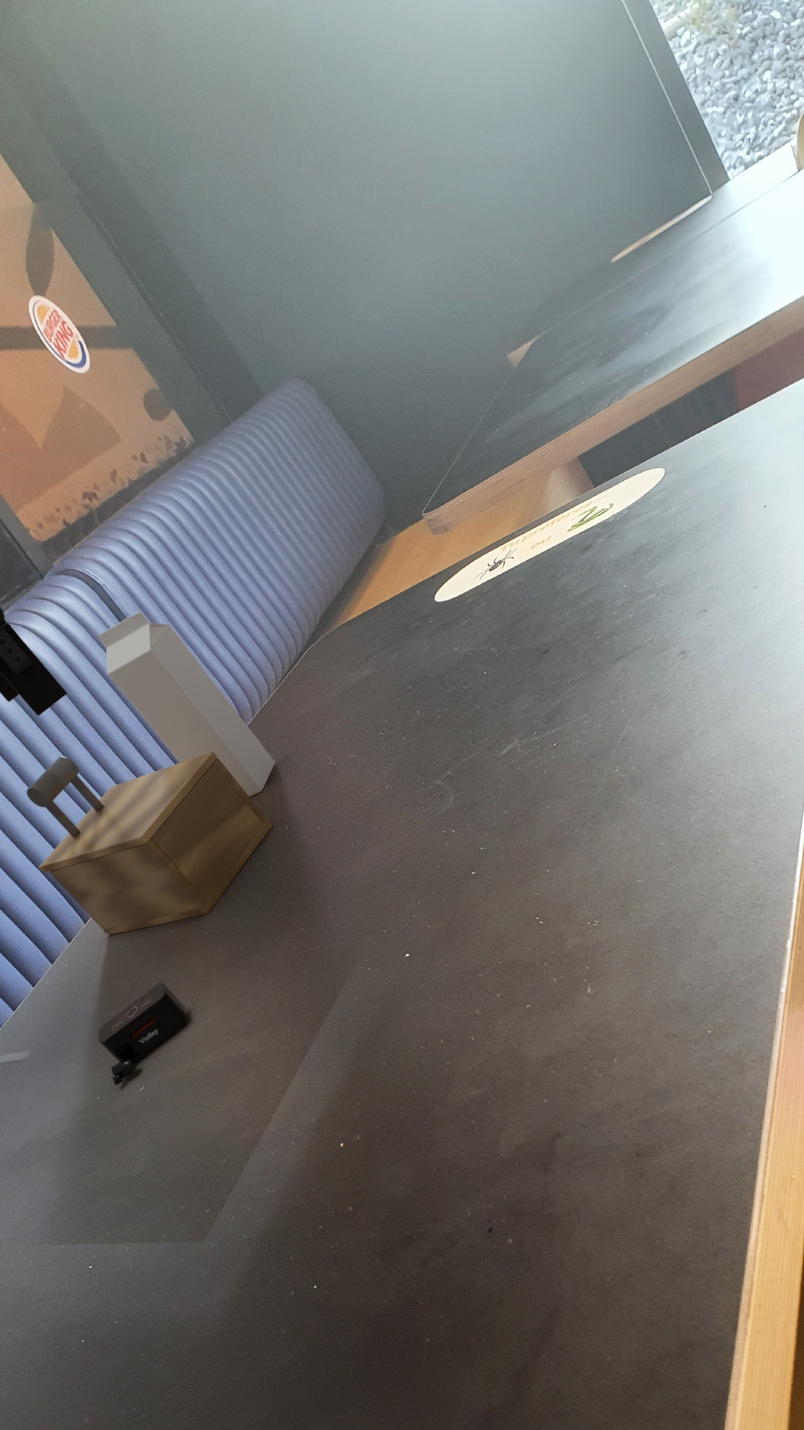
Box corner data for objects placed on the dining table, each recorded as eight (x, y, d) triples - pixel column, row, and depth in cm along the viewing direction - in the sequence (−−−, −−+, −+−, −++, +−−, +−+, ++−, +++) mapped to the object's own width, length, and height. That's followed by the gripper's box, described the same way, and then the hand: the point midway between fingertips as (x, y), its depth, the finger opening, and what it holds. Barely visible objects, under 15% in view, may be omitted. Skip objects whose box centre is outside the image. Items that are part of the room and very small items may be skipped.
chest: (108, 935, 116) (48, 872, 112) (174, 852, 124) (121, 790, 120) (208, 914, 107) (146, 844, 103) (272, 825, 115) (218, 757, 111)
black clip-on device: (116, 1061, 94) (89, 1035, 92) (187, 1007, 94) (162, 980, 93) (120, 1090, 90) (92, 1063, 88) (194, 1033, 90) (168, 1005, 89)
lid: (43, 873, 113) (-9, 818, 109) (116, 792, 121) (69, 738, 118) (146, 843, 103) (92, 782, 99) (218, 757, 111) (170, 698, 108)
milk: (262, 791, 124) (129, 623, 114) (219, 812, 127) (84, 649, 116) (276, 762, 129) (150, 598, 119) (234, 782, 132) (106, 623, 121)
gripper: (-109, 410, 74) (109, 678, 84) (-132, 452, 95) (44, 661, 105) (-211, 477, 72) (24, 743, 82) (-212, 504, 93) (-24, 713, 103)
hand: (36, 698), depth 93 cm, fingers open, 13 cm apart
